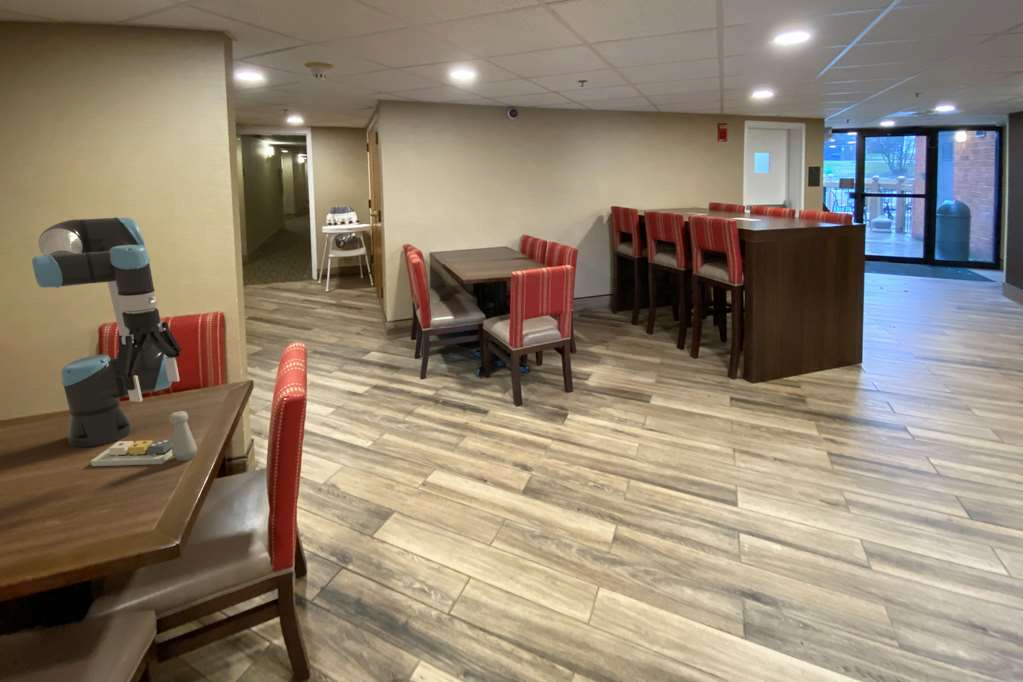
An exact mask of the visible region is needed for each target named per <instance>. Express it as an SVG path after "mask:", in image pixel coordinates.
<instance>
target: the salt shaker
mask: <svg viewBox="0 0 1023 682" xmlns="http://www.w3.org/2000/svg"><path fill="white" fill-rule="evenodd" d="M168 420H169V422H170V424H172V426H173V427H172V439H171V442H172V453H173V455H172V456H173V457H174V458H175V459H176V461H177V462H188V461H191V460H192V459H194V458H195V457H196V454H197V450H198V446H197V444H196V441H195V439H194V437H193V434H192V432H191V429H190V427H189V424H188V420H189V414H188V413H187V412H186V411H183V410H180V411H174V412H172V413H171V414H169V416H168Z"/></svg>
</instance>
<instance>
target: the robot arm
mask: <svg viewBox="0 0 1023 682" xmlns="http://www.w3.org/2000/svg"><path fill="white" fill-rule="evenodd" d="M38 249H39V251H40V253H41V254H42V255H39V256H38V255H37V256H34V257H32V259H31V263H32V268H33V272H34V278H35V280H36V284H37V285H38V286H39V287H40V288H56V289H57V288H61V287H62V288H63V287H70V286H79V285H90V284H100V283H102V284H103V283H107V285H108V289H109V290H108V291H109V294H110V299H111V302H112V303H111V305H112V307H113V312H114V315H115V320H116V325H117V330H118V334H119V336H118V345H119V346H118V349H117V352H116V353H117V357H116V358H111V357H110V356H109V355H108V354H105V353H104V354H103V353H102V354H94V355H90V356H87V357H83V358H79V359H76V360H73V361H72V362H69V363H68V364H66V365H65V366H63V368H62V369H61V371H60V375H61V381H62V384H61V385H62V386H63V388H64V393H65V397H66V401H67V404H68V410H69V413H70V421H69V426H68V428H69V429H68V433H67V438H68V443H69V445H71V446H72V447H77V448H88V447H89V448H90V447H95V446H100V445H105V444H110V443H112V442H115V441H118V440H121V439H123V438H125V437H126V436H128V435H129V434H131V432H132V431H133V425H132V421H131V420H130V419H129V417H128V416H127V414H126V413H125V411H124V410H123V408H122V407H121V405H120V400H119V399H122V398H127V397H128V398H129V402H138V403H139V402H142V401H144V400H143V396H142V394H147V393H152V392H153V393H154V392H157V391H161V390H164V389H168V388H169V387H171V386H172V384H173V382H180V376H179V369H178V367H179V366H178V365H179V364H178V360H177V358H179V357H180V356H181V352H182V348H181V346H180V344H179V343H178V342H177V339H176V338H175V336H174V335H173V333H172V332H171V330H170V328H169V323H168V322H167V321H161V316H160V311H159V309H158V308H157V307H158V303H157V298H156V294H155V293H156V291H155V287H154V282H153V275H152V269H151V264H150V262H151V261H150V257H149V255H148V250H147V247H146V244H145V240H144V237H143V234H142V232H141V230H140V228H139V226H138V224H137V222H136V221H135V220H134V219H133V218H131V217H116V216H115V217H108V218H107V217H105V218H102V217H101V218H84V219H82V218H81V219H78V218H77V219H75V218H74V219H69V220H65V221H61V222H58V223H55V224H53V225H51V226H49V227H48V228H46V229H44V231H42V233H41V234H40V236H39V238H38Z"/></svg>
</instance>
